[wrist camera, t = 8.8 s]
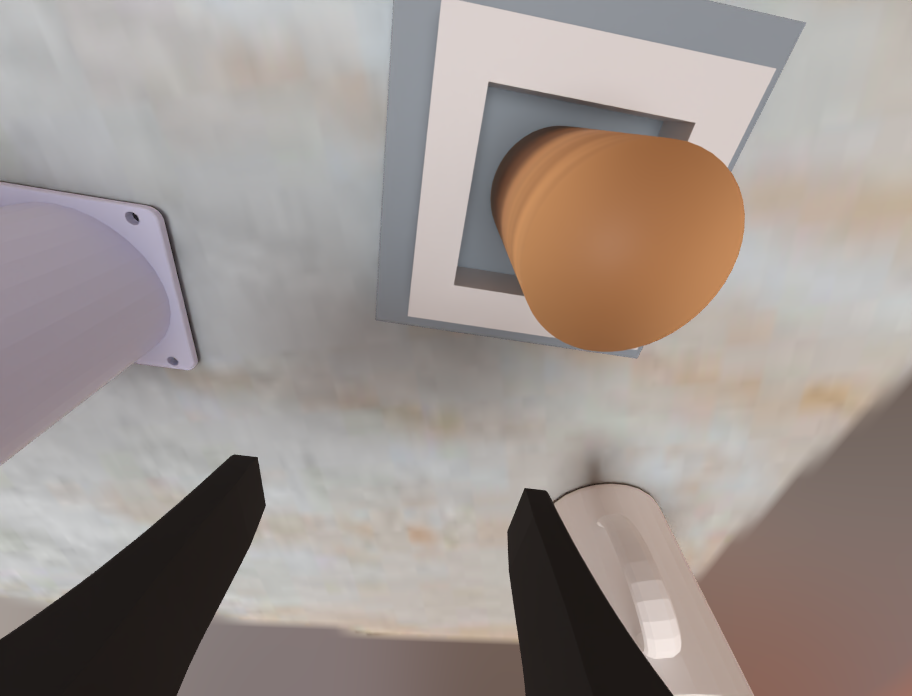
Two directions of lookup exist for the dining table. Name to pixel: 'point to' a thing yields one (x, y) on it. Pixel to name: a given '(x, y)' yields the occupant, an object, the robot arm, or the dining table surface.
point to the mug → (651, 588)
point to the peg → (616, 232)
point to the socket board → (541, 125)
